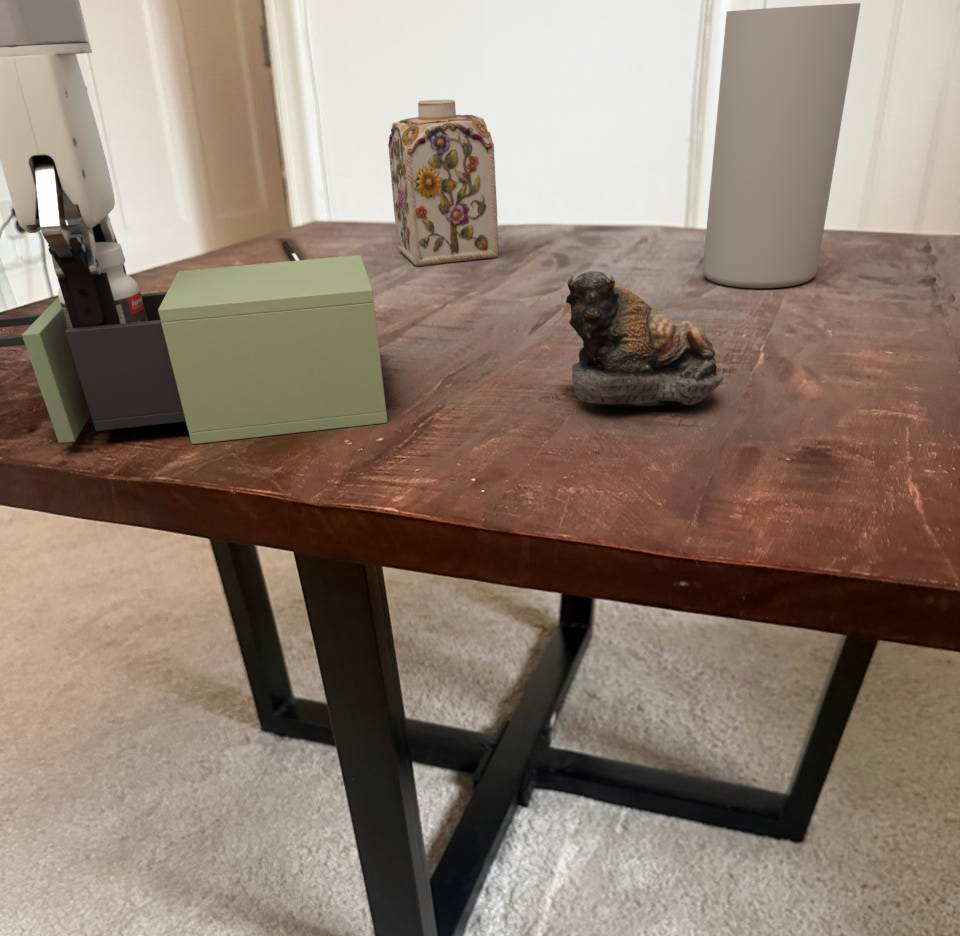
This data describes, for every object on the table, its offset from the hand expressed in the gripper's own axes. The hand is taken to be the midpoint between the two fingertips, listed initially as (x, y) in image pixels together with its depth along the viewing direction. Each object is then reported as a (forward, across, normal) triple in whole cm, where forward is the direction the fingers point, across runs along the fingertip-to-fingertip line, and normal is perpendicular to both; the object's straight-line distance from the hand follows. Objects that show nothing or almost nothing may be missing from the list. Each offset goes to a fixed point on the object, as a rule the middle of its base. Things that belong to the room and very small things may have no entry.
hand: (106, 319), depth 65 cm
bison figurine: (+8, +9, +39) cm, 41 cm away
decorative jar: (+8, -55, +33) cm, 65 cm away
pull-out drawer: (+7, 0, 0) cm, 7 cm away
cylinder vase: (+8, -27, +65) cm, 71 cm away
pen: (+8, -62, +12) cm, 64 cm away
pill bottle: (+5, 0, 0) cm, 5 cm away
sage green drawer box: (+8, 0, +12) cm, 15 cm away
